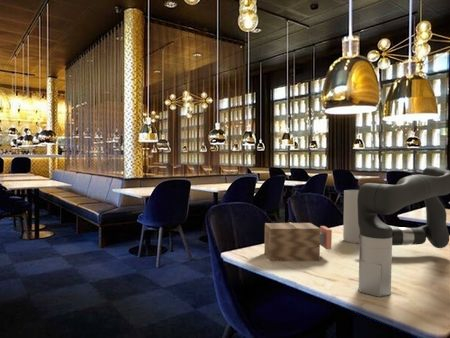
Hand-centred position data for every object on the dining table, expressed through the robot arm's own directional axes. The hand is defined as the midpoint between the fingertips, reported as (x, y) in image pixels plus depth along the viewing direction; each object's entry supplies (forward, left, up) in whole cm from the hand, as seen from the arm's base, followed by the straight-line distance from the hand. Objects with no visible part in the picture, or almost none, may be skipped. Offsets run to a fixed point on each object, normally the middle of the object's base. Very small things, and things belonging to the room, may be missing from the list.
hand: (359, 236), depth 145 cm
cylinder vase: (+26, +11, -8) cm, 29 cm away
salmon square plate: (-17, +17, -4) cm, 24 cm away
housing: (-21, +21, -8) cm, 30 cm away
